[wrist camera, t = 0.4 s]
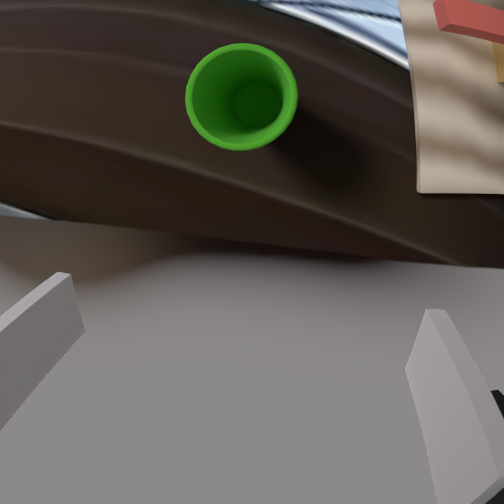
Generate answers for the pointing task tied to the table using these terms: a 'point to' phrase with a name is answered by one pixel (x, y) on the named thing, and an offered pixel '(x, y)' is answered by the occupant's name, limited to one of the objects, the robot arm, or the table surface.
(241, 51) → the cup
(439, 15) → the lever
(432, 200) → the table surface
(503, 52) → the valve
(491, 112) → the board
